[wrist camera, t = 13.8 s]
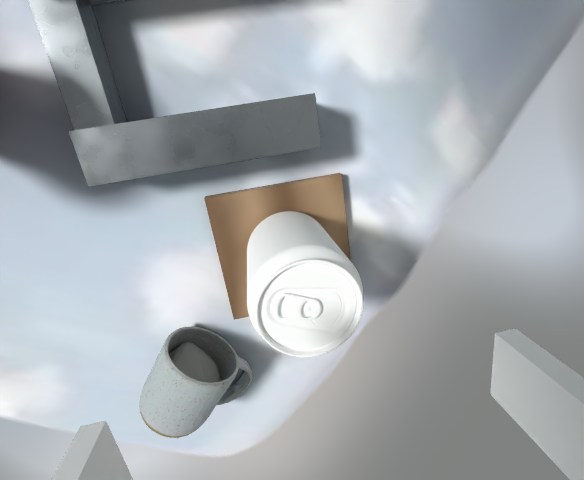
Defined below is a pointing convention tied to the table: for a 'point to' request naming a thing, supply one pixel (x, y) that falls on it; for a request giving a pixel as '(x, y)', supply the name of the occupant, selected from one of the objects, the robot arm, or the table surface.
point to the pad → (261, 204)
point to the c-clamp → (162, 130)
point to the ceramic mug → (191, 381)
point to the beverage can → (301, 286)
